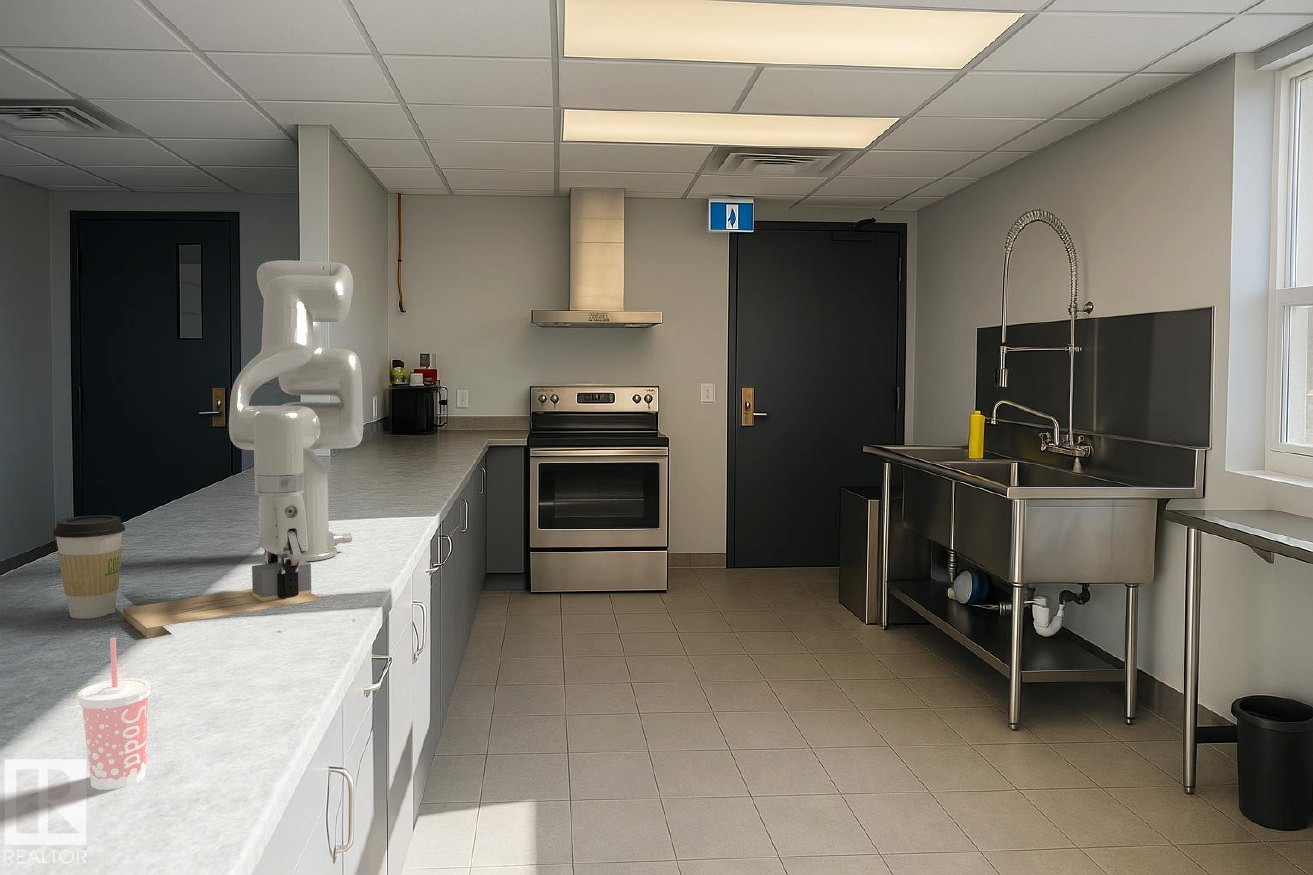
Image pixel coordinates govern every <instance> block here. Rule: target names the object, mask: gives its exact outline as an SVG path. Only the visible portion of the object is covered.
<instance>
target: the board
mask: <svg viewBox="0 0 1313 875" xmlns="http://www.w3.org/2000/svg"><path fill="white" fill-rule="evenodd" d="M321 600H323V598H322V597H319V595H316V594H313V593H312V592H311V593H310V594H304V595H298V596H292V597H286V598H279V599H273V600H267V601H261V600H259V599H258V598H256V597H254V596H253V588H250V589H243V590H236V591H230V592H223V593H217V594H208V595H203V596H195V597H189V598H183V599H182V598H181V599H176V600H170V601H163V602H156V603H151V604H143V605H137V606H135V605H134V606H130V607H129V606H128V607H124V608H123V609H122V611H123V614H122V615H123V619H124V618H125V619H126V620H125V619H124V620H125V621H126V622H128V623H129V624H130V623H131V624H132V625H133V626H132V625H131V624H130V625H131V626H132V627H134V629H135V630H137V631H138V632H139V631H140V632H141V633H140V632H139V633H140V634H142V635H143V636H144V637H145V636H146V637H147V638H146V637H145V638H146V639H150V638H149V637H152V638H155V636H157V637H163V636H167V635H168V636H169V635H172V632H170V631H169V630H168V629H166V628H165V627H164V626H170V625H176V624H182V623H188V622H194V621H195V622H196V621H200V620H207V619H212V618H218V617H225V616H230V615H237V614H242V613H243V614H244V613H248V612H254V611H260V610H265V609H273V608H278V607H284V606H289V605H295V604H302V603H308V602H314V601H321Z"/></svg>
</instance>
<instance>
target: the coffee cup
mask: <svg viewBox="0 0 1313 875" xmlns="http://www.w3.org/2000/svg"><path fill="white" fill-rule="evenodd" d="M124 531H126V527H125V524H124V523H123V522H122V520H121V517H120V516H117V515H110V514H109V515H107V514H105V515H104V514H101V515H99V514H98V515H97V514H95V515H82V516H74V517H73V516H72V517H67V518H63V519H59V520H57V522H56V526H55V528H54V529H53V531H52V536H53V537H55V539H56V544H57V550H58V551H57V558H58V562H59V568H60V569H59V570H60V573H61V579H62V583H63V584H62V585H63V590H64V594H65V595H66V599H67V601H66V602H67V607H68V612H69V613H68V614H69V617H70V618H73V619H82V620H83V619H94V618H101V616H102V617H105V615H106V616H108V615H107V614H110V613H112V614H114V613H115V612H116V606H117V595H118V590H119V585H120V584H119V583H120V574H121V562H122V552H123V547H122V539H123V532H124ZM110 615H111V614H110Z"/></svg>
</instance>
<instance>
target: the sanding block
mask: <svg viewBox="0 0 1313 875" xmlns="http://www.w3.org/2000/svg"><path fill="white" fill-rule="evenodd" d="M285 562H286V561H285ZM285 562H284V564H285ZM298 567H299V571H298V592H299V593H298V595H304V594H310V593H312V564H311V563H309V561H306V562H305V561H303V560H300V561H299V564H298ZM277 574H280V572H279V563H278V562H277V563H270V564H265V563H264V564H255V565H252V566H251V579H252V580H251V585H252V588H251V589H253V596H254V597H256V598H258V599H259V600H261V601H267V600H273V599H279V597H278V586H277ZM298 595H297V596H298Z"/></svg>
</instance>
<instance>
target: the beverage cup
mask: <svg viewBox="0 0 1313 875" xmlns="http://www.w3.org/2000/svg"><path fill="white" fill-rule="evenodd" d="M109 644H110V645H109V646H110V647H109V649H110V671H111V673H110V674H111V679H110V680H106V681H105V680H103V681H100V682H98V683H94V684H90V685H89V686H86V687H84V688H82V689H81V690H80V691H79V692H78V693H77V698H78V705H79V706H80V707H81V709H82V719H83V726H84V728H83V729H84V735H85V736H84V737H85V743H86V744H85V745H86V746H85V747H86V753H87V754H86V756H87V760H88V761H87V762H88V771H89V772H88V773H89V778H90V780H89V782H90V785H91V787H92V788H94V789H96V790H101V791H102V790H105V791H107V790H109V791H110V790H116V789H122V788H125V787H130V786H131V785H134V784H137V783H138V782H140V781H141V780H143V779H144V777H145V776H146V766H147V736H148V735H147V733H148V732H147V731H148V706H149V704H148V703H149V695H151V693H152V692H151V688H152V683H151V682H150V681H149V680H146V679H143V678H134V677H133V678H132V677H131V678H118V664H117V662H118V661H117V660H118V659H117V638H116V637H114V636H113V637H109Z"/></svg>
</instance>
